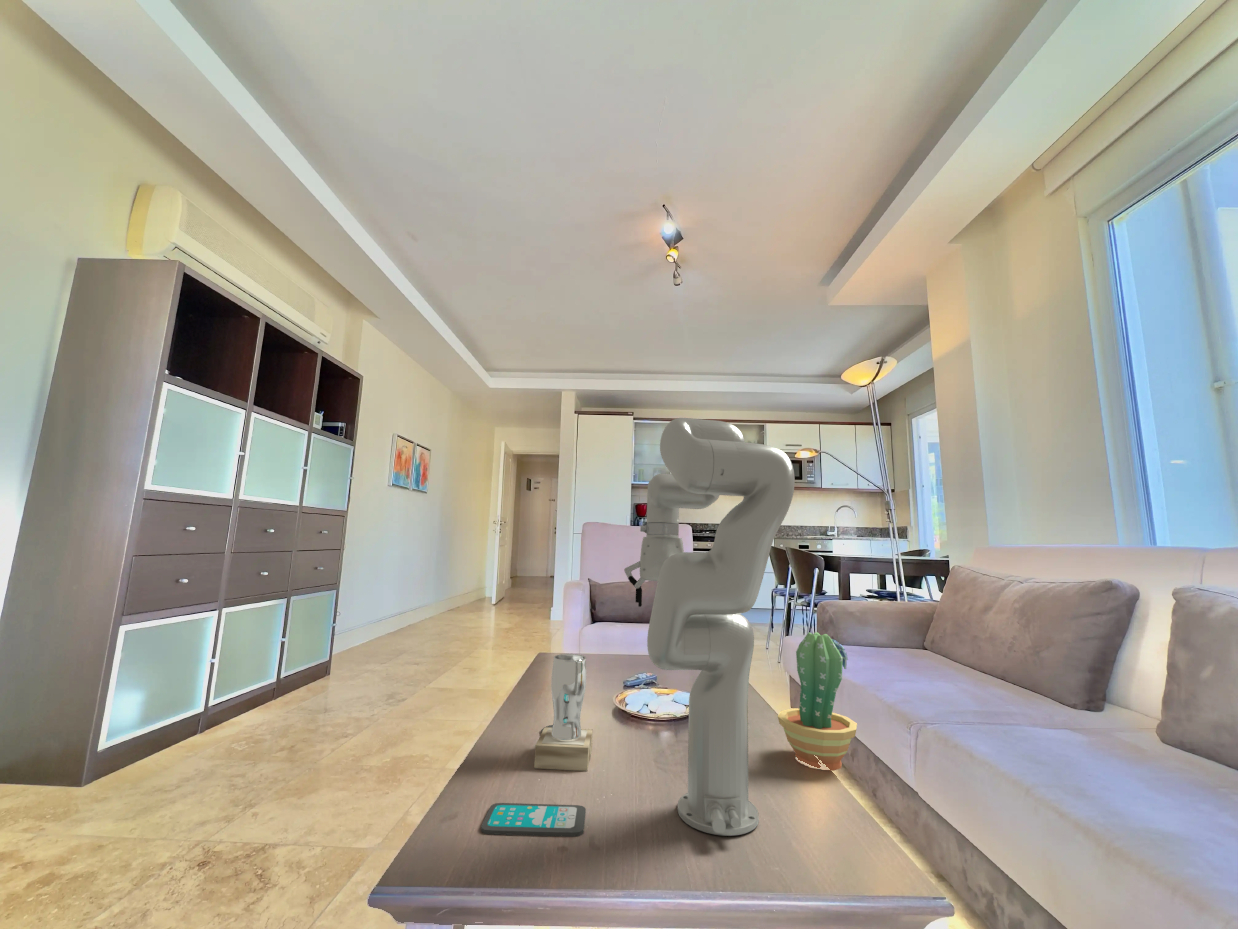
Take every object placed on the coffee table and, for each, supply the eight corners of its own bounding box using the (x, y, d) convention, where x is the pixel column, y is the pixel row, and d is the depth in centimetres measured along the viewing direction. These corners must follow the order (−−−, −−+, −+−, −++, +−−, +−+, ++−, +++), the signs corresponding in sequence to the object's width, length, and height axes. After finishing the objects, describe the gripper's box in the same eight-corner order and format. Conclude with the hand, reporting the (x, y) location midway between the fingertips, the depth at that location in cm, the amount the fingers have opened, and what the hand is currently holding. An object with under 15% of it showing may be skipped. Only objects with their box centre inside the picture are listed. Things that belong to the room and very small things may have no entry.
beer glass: (586, 731, 105) (589, 654, 107) (580, 744, 98) (584, 661, 101) (552, 729, 106) (556, 652, 108) (544, 741, 99) (549, 659, 101)
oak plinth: (587, 770, 96) (588, 747, 97) (534, 768, 97) (535, 744, 97) (591, 750, 106) (592, 728, 107) (543, 747, 107) (544, 726, 107)
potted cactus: (869, 782, 96) (863, 642, 100) (782, 772, 99) (780, 636, 103) (849, 751, 111) (845, 630, 114) (774, 743, 114) (773, 625, 118)
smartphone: (583, 832, 74) (479, 829, 74) (582, 840, 74) (478, 836, 74) (586, 803, 83) (492, 800, 83) (585, 810, 83) (492, 807, 83)
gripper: (625, 529, 117) (622, 607, 115) (701, 532, 117) (700, 610, 114) (625, 530, 125) (623, 603, 122) (697, 533, 124) (696, 606, 122)
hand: (660, 606), depth 118 cm, fingers open, 9 cm apart
